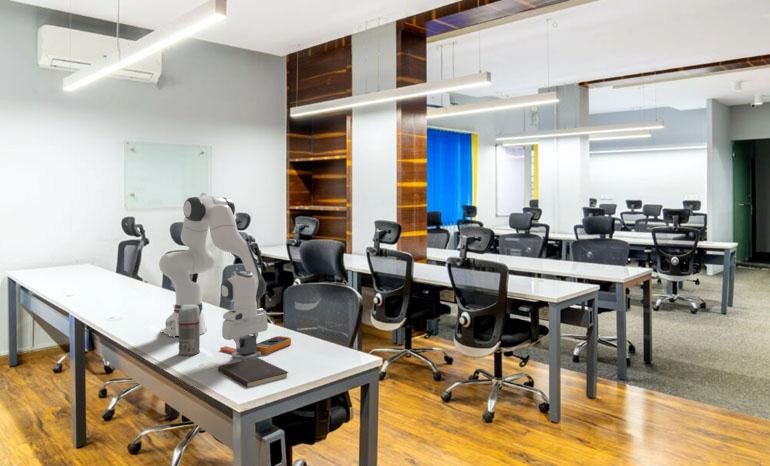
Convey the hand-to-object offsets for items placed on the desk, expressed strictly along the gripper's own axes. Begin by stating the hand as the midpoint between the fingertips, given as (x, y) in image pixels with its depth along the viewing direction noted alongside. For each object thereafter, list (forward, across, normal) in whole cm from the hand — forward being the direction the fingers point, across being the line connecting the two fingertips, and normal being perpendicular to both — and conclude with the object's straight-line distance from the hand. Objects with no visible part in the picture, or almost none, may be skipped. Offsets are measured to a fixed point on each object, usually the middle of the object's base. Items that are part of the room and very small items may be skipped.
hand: (246, 346), depth 209 cm
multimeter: (+5, -14, 0) cm, 15 cm away
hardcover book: (+5, +13, +19) cm, 23 cm away
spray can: (+4, +11, -22) cm, 25 cm away
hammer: (+4, 0, -5) cm, 7 cm away
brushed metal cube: (+2, 0, 0) cm, 2 cm away
